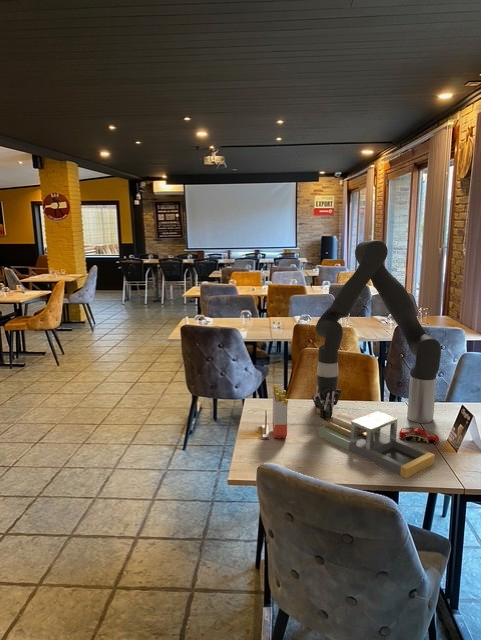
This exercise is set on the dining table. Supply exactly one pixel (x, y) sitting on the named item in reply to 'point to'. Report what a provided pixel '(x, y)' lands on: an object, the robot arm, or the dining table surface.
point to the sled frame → (342, 430)
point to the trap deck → (384, 451)
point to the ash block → (344, 420)
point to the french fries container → (279, 413)
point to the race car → (418, 435)
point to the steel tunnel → (373, 427)
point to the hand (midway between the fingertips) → (326, 417)
